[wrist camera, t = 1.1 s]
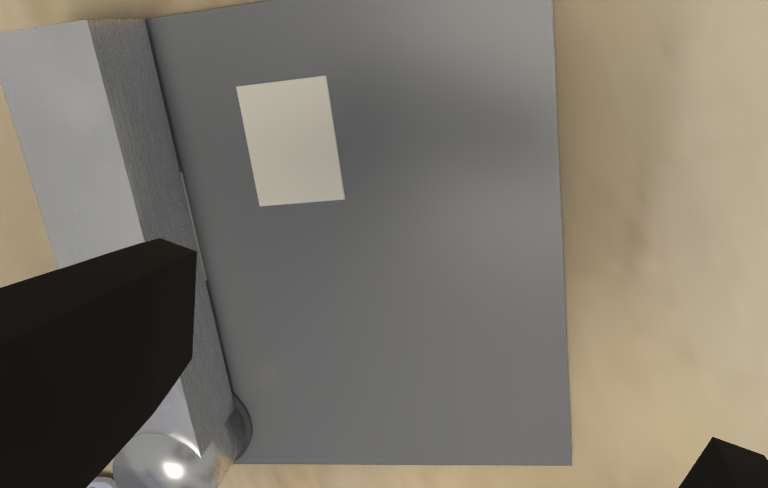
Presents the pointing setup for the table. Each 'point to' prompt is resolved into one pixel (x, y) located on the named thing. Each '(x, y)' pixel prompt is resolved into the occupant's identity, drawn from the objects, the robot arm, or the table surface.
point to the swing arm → (120, 214)
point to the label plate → (378, 224)
